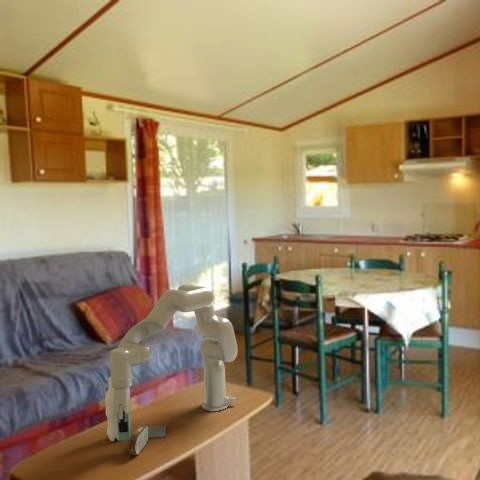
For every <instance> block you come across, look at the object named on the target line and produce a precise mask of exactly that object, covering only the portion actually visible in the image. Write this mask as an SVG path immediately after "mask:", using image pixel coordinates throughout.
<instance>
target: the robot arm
mask: <svg viewBox="0 0 480 480" xmlns="http://www.w3.org/2000/svg"><path fill="white" fill-rule="evenodd" d="M214 298H215V297H214V293H213V291H212V289H211V288H209V287H207V286H200V285H193V284H182V285H179V287H178V288H177V289H170V288H169V289H167V290H165V291H164V292H163V293H162V294H161V296H160V297H159V299H158V301H157V302H156V303H155V305H154V307H153V308H152V309H151V311H150V312H149V314H148V315H147V317H145V318H143V319H142V320H140V321H139V322H137V324H134V326H132V327H131V328H129V330H128V331H127V332H126V333H125V335H124V336H123V338H122V339H121V341H120V343H119V345H118V346H117V347H116V348H114V349H112V350H111V351H109V363H110V364H109V365H110V377H111V384H112V388H113V389H114V415H117V414H118V411H119V432H120V433H121V432H128V421H127V413H128V411H129V408H130V407H131V390H130V388H131V387H132V386H133V374H132V373H133V372H132V367H136V366H137V367H138V366H142V365H145V364H147V363H148V362H150V360H151V358H152V355H153V354H152V349H150V347H149V346H148V345H146V344H142V343H140V342H141V341H142V340H143V339H144V338H146V337H147V336H149V335H153V334H156V333H159V332H162V331H164V330H166V328H167V327H168V325H169V323H170V322H171V320H172V318H173V317H174V315H175V314H176V312H179V313H180V312H181V313H191V312H194V316H195V320H196V324H197V328H198V331H199V333H200V335H201V336H203V337H205V338H203V340H201V342H200V348H199V350H200V355H201V358H202V359H201V360H202V365H203V388H204V390H203V391H204V392H203V393H204V401H202V402H201V405H200V406H201V409H202V410H205V411H208V412H219V410H221V411H224V410H226V409H228V408H229V407H230V403H231V402H232V403H233V402H234V403H235V402H237V398H236V396H235V397H234V395H227V392H226V391H227V390H226V369H225V368H226V367H225V363H231V362H234V360H236V358H237V356H238V349H239V348H238V343H237V337H236V335H235V334H236V333H235V329H234V325H233V324H232V322H231V321H230V320H229V319H228V318H226V317H220V316H217V315H216V312H215V308H214V306H213V302H214ZM224 362H225V363H224ZM228 406H229V407H228ZM227 407H228V408H227ZM225 408H226V409H225ZM130 409H131V408H130ZM223 409H224V410H223ZM123 412H125V413H123ZM124 415H125V418H124V417H123V416H124Z"/></svg>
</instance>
